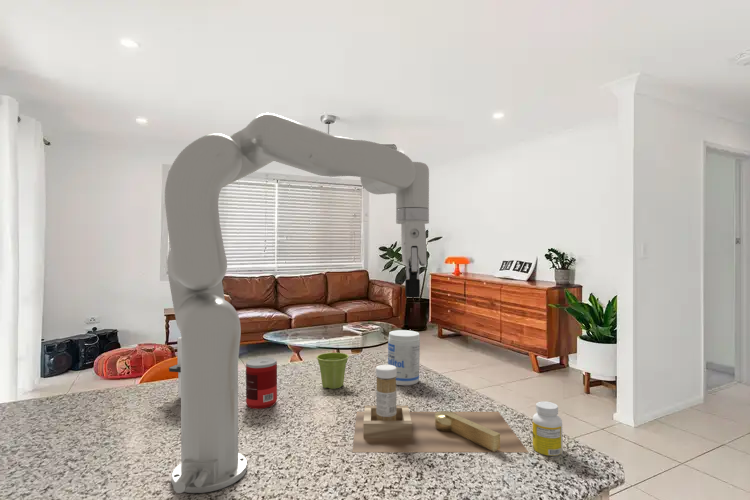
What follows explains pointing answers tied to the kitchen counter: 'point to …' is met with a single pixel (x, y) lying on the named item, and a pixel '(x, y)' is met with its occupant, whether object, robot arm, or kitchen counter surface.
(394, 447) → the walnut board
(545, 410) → the supplement bottle
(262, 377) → the canned food
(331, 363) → the plant pot
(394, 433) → the socket
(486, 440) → the lever
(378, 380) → the spice jar
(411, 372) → the supplement tub
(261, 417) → the kitchen counter surface
